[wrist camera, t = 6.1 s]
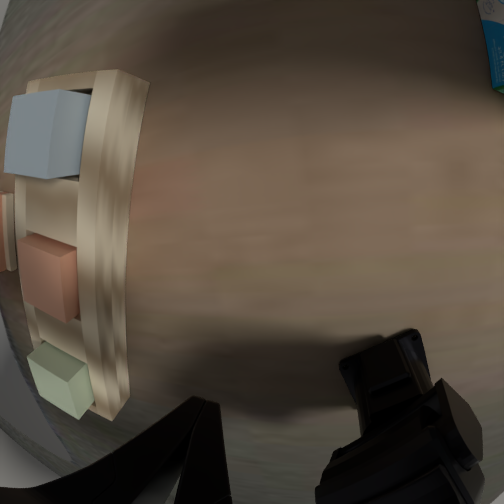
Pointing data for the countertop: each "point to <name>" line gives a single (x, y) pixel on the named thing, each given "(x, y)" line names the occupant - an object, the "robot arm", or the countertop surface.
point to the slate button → (46, 133)
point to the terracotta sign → (7, 233)
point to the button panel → (91, 229)
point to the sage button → (61, 379)
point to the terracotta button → (49, 276)
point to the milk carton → (494, 38)
